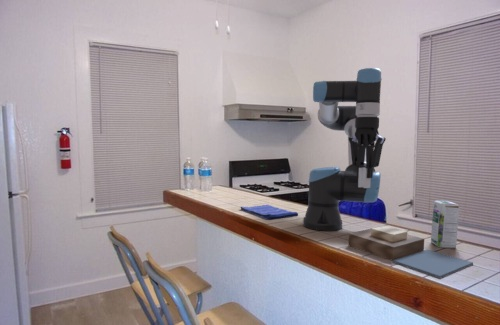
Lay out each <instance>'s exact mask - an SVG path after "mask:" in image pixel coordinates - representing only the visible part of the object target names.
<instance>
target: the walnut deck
mask: <svg viewBox="0 0 500 325" xmlns="http://www.w3.org/2000/svg"><path fill="white" fill-rule="evenodd" d="M371 229H372V228H368V229H365V230H359V231H355V232H349V233H348V247H350V248H355V249H358V250H360V251H363V252H366V253H369V254H372V255H374V256H377V257H381V258H384V259H386V260H389V261H392V262H393V260H395V259H398V258H401V257H404V256H408V255H411V254H414V253H417V252H420V251H424V250H425V238H424V237H419V236H415V235H411V234H408V233H407V239H403V240H399V241H396V242H392V241H389V240H385V239H382V238H378V237H375V236H371Z"/></svg>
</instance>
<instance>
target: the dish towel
mask: <svg viewBox="0 0 500 325" xmlns="http://www.w3.org/2000/svg"><path fill="white" fill-rule="evenodd" d="M240 211H242V212H246V213H249V214H251V215H253V216H255V217H258V218H262V219H264V220H276V219H283V218H291V217H292V218H293V217H298V216H299V213H298V212H296V211H290V210H286V209H283V208H279V207H275V206H272V205H270V204H263V205H262V204H261V205H254V206H240Z"/></svg>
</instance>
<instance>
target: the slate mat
mask: <svg viewBox="0 0 500 325" xmlns="http://www.w3.org/2000/svg"><path fill="white" fill-rule="evenodd" d="M392 263H395V264H397V265H400V266H403V267H405V268H409V269H411V270H415V271H416V272H421V273H423V274H427V275H430V276H432V277H435V278H438V279H441V278H445V277H446V276H449V275H451V274H453V273H456V272H458V271H460V270H464V269H465V268H469V267H470V266H473V265H474V262H473V261H469V260H466V259H463V258H460V257H459V258H458V257H455V256H452V255H447V254H444V253H442V252H438V251H434V250H431V249H424V251H420V252H417V253H414V254H411V255H408V256H404V257H401V258H398V259H395V260H393V261H392Z"/></svg>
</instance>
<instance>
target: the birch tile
mask: <svg viewBox="0 0 500 325" xmlns="http://www.w3.org/2000/svg"><path fill="white" fill-rule="evenodd" d="M370 229H371V236H375V237H378V238H382V239H385V240H389V241H392V242H396V241H399V240H403V239H407V234H408V231H406V230H403V229H398V228H396V227H390V226H388V225H387V226H386V225H382V226H378V227H372V228H370Z"/></svg>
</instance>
